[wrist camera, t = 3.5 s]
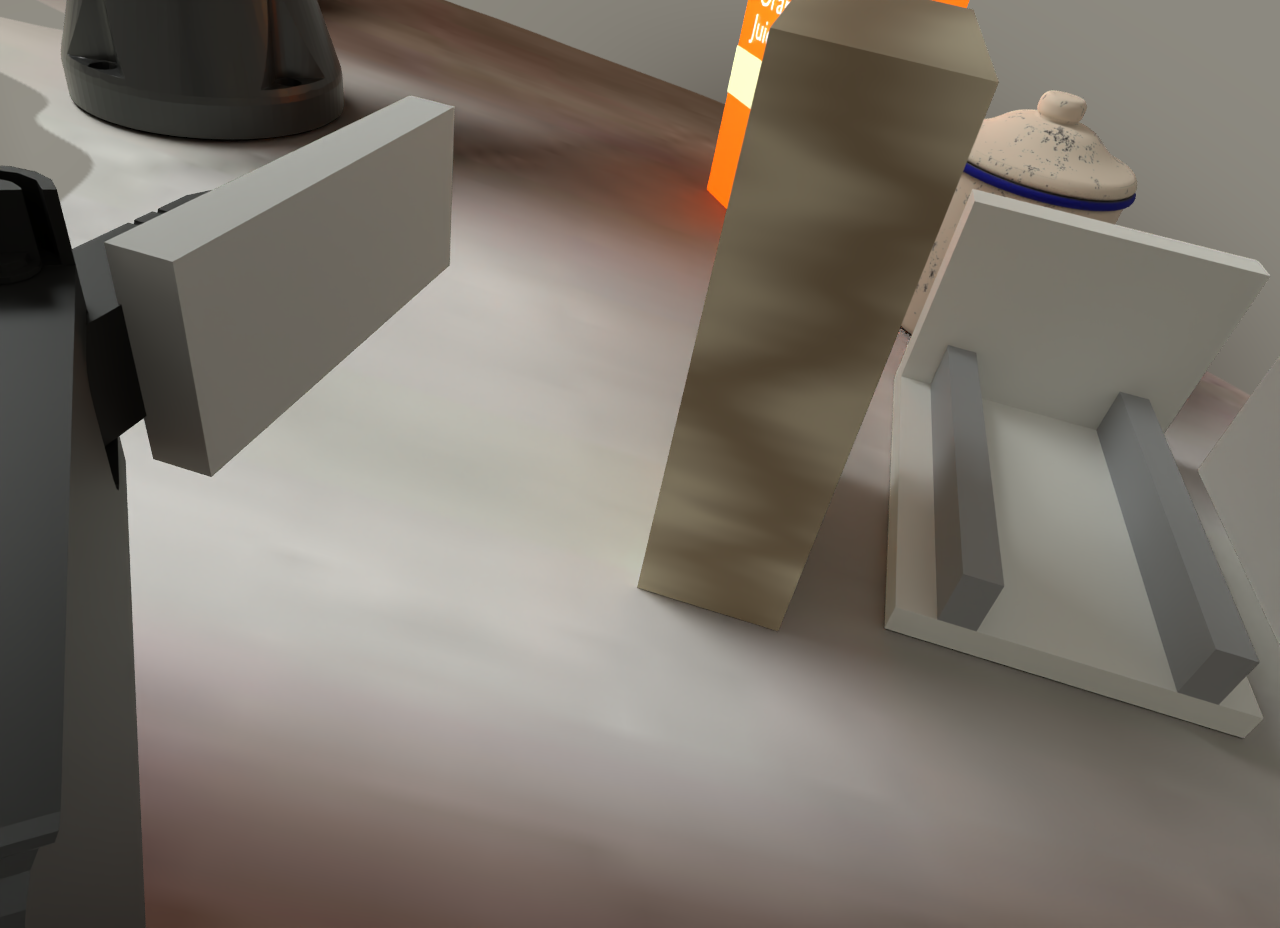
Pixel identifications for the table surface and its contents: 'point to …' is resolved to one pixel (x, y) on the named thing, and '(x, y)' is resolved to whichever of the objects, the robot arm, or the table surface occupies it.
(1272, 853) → the table surface
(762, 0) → the orange juice
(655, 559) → the tall wooden block
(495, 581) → the table surface
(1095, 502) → the track
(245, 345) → the robot arm
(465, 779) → the table surface
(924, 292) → the teacup with lid
